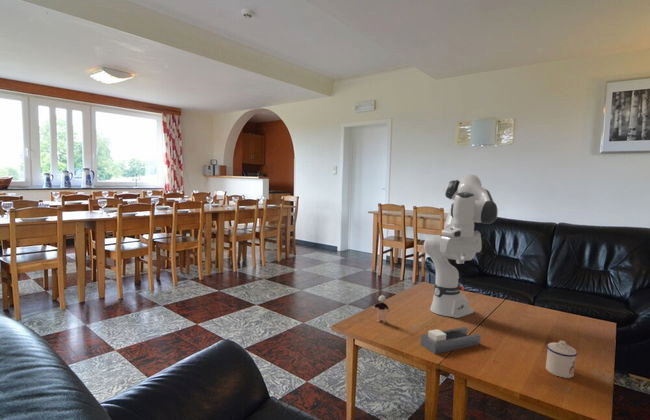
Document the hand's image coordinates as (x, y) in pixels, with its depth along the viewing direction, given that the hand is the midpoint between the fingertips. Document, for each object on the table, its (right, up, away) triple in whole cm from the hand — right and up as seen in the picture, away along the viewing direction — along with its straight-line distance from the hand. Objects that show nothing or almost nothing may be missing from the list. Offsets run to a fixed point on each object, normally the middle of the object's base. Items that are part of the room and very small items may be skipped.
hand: (460, 263), depth 153 cm
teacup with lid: (+29, -37, -20) cm, 51 cm away
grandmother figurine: (-31, -31, +18) cm, 47 cm away
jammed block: (-12, -32, -6) cm, 35 cm away
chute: (-5, -33, -3) cm, 34 cm away
